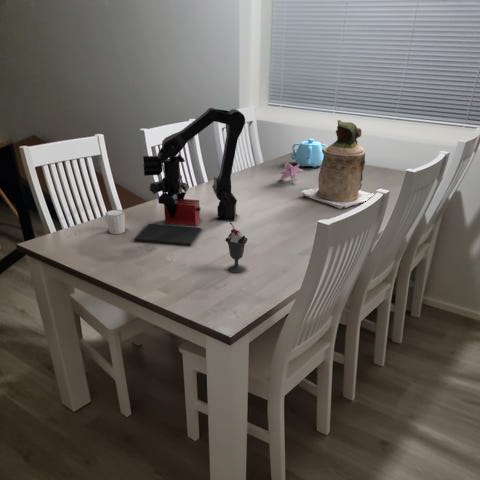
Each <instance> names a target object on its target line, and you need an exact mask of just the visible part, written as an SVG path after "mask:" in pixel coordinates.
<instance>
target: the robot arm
mask: <svg viewBox="0 0 480 480" xmlns="http://www.w3.org/2000/svg"><path fill="white" fill-rule="evenodd" d="M214 122H215V123H220V124H224V125H225V131H226V136H225V142H224V147H223V154H222V160H221V166H220V170H219V174H218V176H217V177H215V176H214V177H213V184H212V186H211V188H212V190H213V193H214V195H215V196H216V198H217V200H219V202H218V205H217V208H216V209H217V217H218V218H217V220H219V221H235V220H236V218H237V217H238V216H237V215H238V214H237V202H238V200H237V198H236V196H235V195H234V193H233V192H232V178H231V177H232V171H233V167H234V162H235V161H234V160H235V156H236V151H237V145H238V140H239V137H240V136H241V133H242V132H243V129H244V127H245V124H246V117H245V115H244V113H243V112H241V111H240V110H238V109H236V108H232V109H229V110H226V109H219V108H214V107H209V108H207V110H206V111H205V112H203V113H202V114H201V115H199V116H198V117H197V118H195V119H194V120H193V121H192V122H191V123H189V124H188V125H187V126H185V127H184V128H183V129H181V130H180V131H178V132H174V133H172V134H170V135H168V136H166V137H165V138H163V140H162V141H161V148H160V150H159V151H158V152H157V155H143V156H142V161H143V164H142V167H143V176H144V177H146V176H160V175H161V174H162V173H163V172H164V177H163V178H162V179H161V180H157V181H154V182H151V183H150V185H149V191H150V192H151V193H152V194H153V195H155V194H157V193H160V192H162V193H161V194H160V195H159V197H157V201H158V204H159V205H163V206H164V205H166V207H167V209H168V212H169V214H170V217H171V218H174V216H175V212H176V209H177V205H178V201H177V199H185V197H186V195H187V192H188V191H189V185H188V184H187V183H186V182H182V181H181V180H182V179H183V175H181V164H180V163H185V161H186V160H185V158H184V157H183V156H182V155H181V154H180V153H181V151H182V150H183V149H184V147H185V146H186V144H187V143H188V142H189V141H191V140H192V139H193V138H195V137H196V136H197V135H198V134H200V133H201V132H202V131H203V130H205V129H207V127H208V126H210V125H211V124H213V123H214Z"/></svg>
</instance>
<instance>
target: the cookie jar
mask: <svg viewBox="0 0 480 480" xmlns="http://www.w3.org/2000/svg"><path fill="white" fill-rule="evenodd" d="M335 134H336V138H337V139H336V141H333V143H331V144H330V145H327V146H326V147H325V146H323V147H322V148H323V149H322V153H323V160H322V164H321V165H320V169H319V173H318V177H317V179H318V180H317V181H318V182H317V183H318V187H315V188H310V189H303V190H301V191H300V193H301V194H302V198H303V197H307V198H309V199H313V200H315V201H318V202H321V203H324V204H327V205H330V206H332V207H335V208H336V209H339V210H342V208H349V207H352V206H357V205H360V204H362V203H365V201H366V202H368V201H367V200H368V199H369V198H370V197H372V196H373V195H374V194H375V193H373V192H368V191H364V190H361V188H362V181H363V178H364V177H363V171H364V170H365V164H366V151H365V150H364V148H363V147H362V146H361V145H359V144H358V140H357V139H358V138H360V137H361V136H362V129H361V128H360V127H357V124H355V123H353V122H352V121H351V122H350V121H349V122H347V121H342V120H340V119H337V126H336V130H335Z"/></svg>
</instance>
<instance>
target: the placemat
mask: <svg viewBox="0 0 480 480" xmlns="http://www.w3.org/2000/svg"><path fill="white" fill-rule="evenodd" d="M201 231H202V228H201V227H197V226H186V225H173V224H158V223H157V224H156V223H148V225H146V227H145V228H143V230H142V231H141V232H139V234H138V235H137V236H136V237H135V239H134V241H135V243H136V242H138V243H150V244H161V245H163V244H164V245H173V246H187V247H191V246H192V245H193V243H194V241H195V240H196V238H197V237H198V235H199V234H200V232H201Z"/></svg>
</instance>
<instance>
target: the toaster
mask: <svg viewBox="0 0 480 480" xmlns="http://www.w3.org/2000/svg"><path fill="white" fill-rule="evenodd" d="M177 201H178V205H177V209H176V212H175V216H174V218H171V217H170V214H169V212H168V209H167V207H166V205H164V204H163V210H164V220H165V221H164V222H165V224H164V225H175V226H189V227H197V225H198V224H199V222H200V221H201V208H202V207H200V199H190V198H189V199H188V198H184V199H177Z"/></svg>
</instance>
